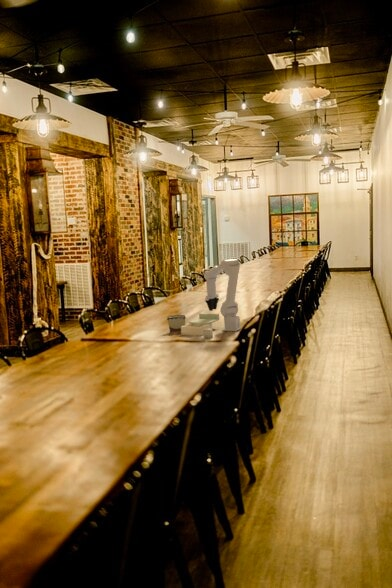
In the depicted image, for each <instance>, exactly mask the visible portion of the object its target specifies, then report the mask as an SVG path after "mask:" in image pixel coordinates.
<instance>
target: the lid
mask: <svg viewBox="0 0 392 588" xmlns="http://www.w3.org/2000/svg"><path fill="white" fill-rule="evenodd" d="M198 317H199V318H197V319H193V320H191V321H189V322H188V324H189V323H191V324H210V323H212V324H213V323H215V322H217V321H220V313H200V312H199V313H198Z"/></svg>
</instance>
